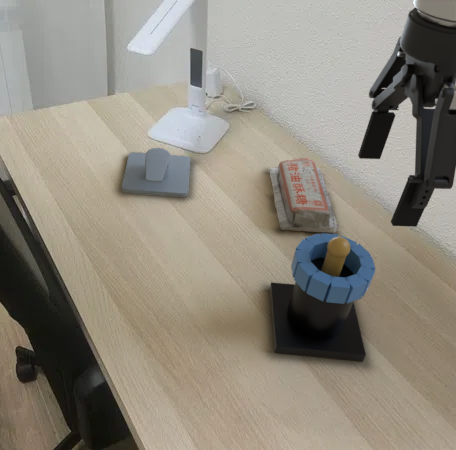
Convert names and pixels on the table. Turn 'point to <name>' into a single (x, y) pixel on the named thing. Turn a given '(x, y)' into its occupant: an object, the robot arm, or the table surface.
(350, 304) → the tape holder
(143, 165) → the shower valve
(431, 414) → the table surface
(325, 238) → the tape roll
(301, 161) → the packaged product
